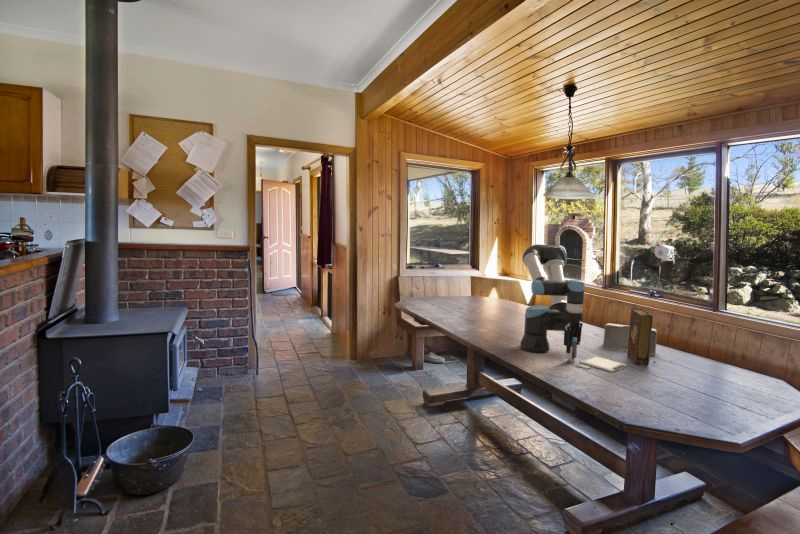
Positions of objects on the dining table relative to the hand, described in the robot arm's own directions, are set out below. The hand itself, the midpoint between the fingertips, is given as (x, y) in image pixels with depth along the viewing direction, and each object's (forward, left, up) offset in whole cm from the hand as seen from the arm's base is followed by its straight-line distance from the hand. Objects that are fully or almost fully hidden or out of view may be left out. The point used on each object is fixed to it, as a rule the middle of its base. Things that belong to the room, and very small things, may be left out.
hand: (571, 358), depth 222 cm
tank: (+7, +47, -2) cm, 48 cm away
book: (+19, +29, -2) cm, 35 cm away
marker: (0, 0, -2) cm, 2 cm away
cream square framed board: (+12, +8, -2) cm, 15 cm away
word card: (+8, -3, -2) cm, 9 cm away
